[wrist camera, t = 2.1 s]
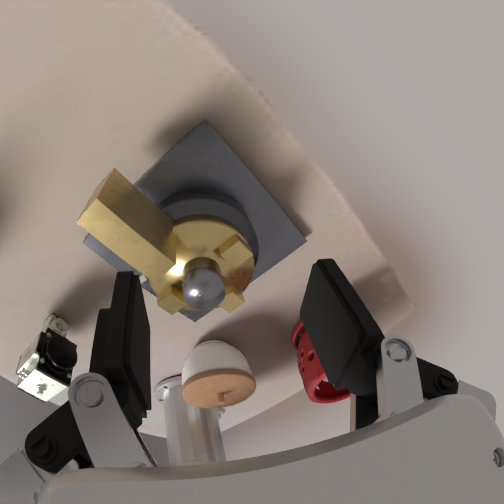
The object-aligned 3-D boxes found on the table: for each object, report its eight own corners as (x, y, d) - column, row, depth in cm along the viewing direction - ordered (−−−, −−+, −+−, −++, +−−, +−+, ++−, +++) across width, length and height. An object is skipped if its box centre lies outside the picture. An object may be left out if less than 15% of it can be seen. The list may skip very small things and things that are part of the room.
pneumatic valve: (87, 314, 35) (74, 390, 25) (53, 346, 37) (40, 411, 27) (56, 291, 31) (32, 368, 22) (25, 328, 34) (7, 393, 24)
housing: (304, 236, 35) (316, 256, 32) (191, 318, 39) (194, 341, 36) (205, 119, 25) (209, 126, 22) (82, 240, 29) (73, 262, 25)
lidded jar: (205, 320, 40) (214, 377, 32) (258, 343, 46) (274, 392, 38) (165, 358, 43) (169, 410, 36) (217, 374, 49) (226, 421, 41)
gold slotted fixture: (268, 258, 30) (286, 299, 25) (197, 310, 32) (203, 353, 28) (146, 135, 20) (135, 156, 16) (72, 216, 23) (51, 255, 18)
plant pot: (367, 314, 48) (399, 367, 39) (308, 355, 51) (331, 409, 42) (339, 278, 41) (379, 341, 32) (268, 329, 44) (291, 396, 34)
